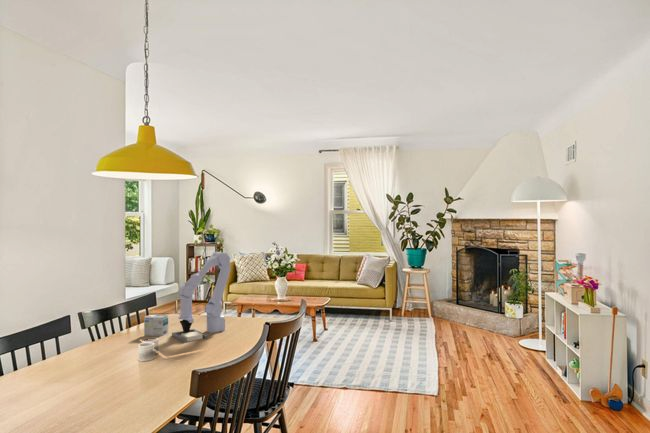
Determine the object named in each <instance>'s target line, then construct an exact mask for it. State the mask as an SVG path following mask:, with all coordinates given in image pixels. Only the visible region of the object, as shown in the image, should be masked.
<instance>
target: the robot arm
mask: <svg viewBox="0 0 650 433" xmlns="http://www.w3.org/2000/svg"><path fill="white" fill-rule="evenodd" d="M215 266H216V267H217V266H218V268H219V274H218V276H217V280H216V283H215V286H214V290H213V292H212V296H211V298H209V300H208V302H207V303H206V305H205V306H204V312H205V313H206V333H211V334H214V333H218V332H223V331H226V318H225V316H224V315H223V314H222V312H223V300H222V299H223V296H224V292H225V289H226V287H227V286H226V285H227V282H228V280H229V276H230V273H231V269H232V267H231V257H230V256H229V254H228V253H227V252H221V251H214V252H212V255H210V256H209V258H208V259H207V261H206V262H205V263H204V264H203V266H202V267H201V268H200V270H198V272H196V273H194V274H191V275H190V277H189V279H188V280H187V281H186V282H184V284H183V285H181V286H180V287H179V290H178V294H179V295H180V314H179V316H178V320H179V323H180V325H181V327H182V331H183V332H184V333H189V331H190V330H191V326H192V324H193V323H194V322H195V321H194V317H193V298H192V297H193V295H194V292H195V290H196V288H198V286H199V285H200V284H201V283H202V282H203V277H204V276H205V275H206V274H207V273H209V271H210V270H211V269H212V268H213V267H215Z"/></svg>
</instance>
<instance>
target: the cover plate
mask: <svg viewBox="0 0 650 433" xmlns="http://www.w3.org/2000/svg"><path fill="white" fill-rule="evenodd" d="M197 331H198V330H197ZM197 331H195V332H189V333H184V334H181V337H183V338H185V339H186V341H187V342H186V343H189V342H188V341H191V342H194V341H193V340H197V341H199V340H198V339H202V340H204V339H203V334H204V333H203V334H201V333H202V332H201V333H199V332H200V331H199V332H197Z"/></svg>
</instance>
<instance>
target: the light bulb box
mask: <svg viewBox="0 0 650 433" xmlns="http://www.w3.org/2000/svg"><path fill="white" fill-rule="evenodd" d="M143 326H144V327H143V330H144V331H143V332H144V334H143V335H144V337H150V336H153V337H154V336H156V337H157V336H161V337H162V336H163V337H164V336H165V335H167V334H168V333H169V314H148V315H146V316H144V317H143Z"/></svg>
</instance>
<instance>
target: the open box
mask: <svg viewBox="0 0 650 433" xmlns="http://www.w3.org/2000/svg"><path fill="white" fill-rule="evenodd" d="M195 331H197V332H199V333H201V334H203V339H198V340H193V341H188V342H187V341H186V339H185V338H183V337H181V334H184V332H183V330H180V331H179V330H178V331H175V332H171V336H172V337H173V338H174V339H177V340H178V341H181V343H184V344H185V343H190V342H196V341H201V340H206V339H208V335H207V334H205V333H202V332H201V331H198V330H197V329H195V328H190V331H189V332H195Z"/></svg>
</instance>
